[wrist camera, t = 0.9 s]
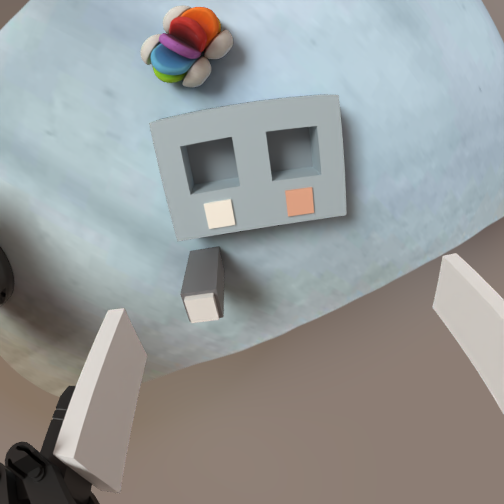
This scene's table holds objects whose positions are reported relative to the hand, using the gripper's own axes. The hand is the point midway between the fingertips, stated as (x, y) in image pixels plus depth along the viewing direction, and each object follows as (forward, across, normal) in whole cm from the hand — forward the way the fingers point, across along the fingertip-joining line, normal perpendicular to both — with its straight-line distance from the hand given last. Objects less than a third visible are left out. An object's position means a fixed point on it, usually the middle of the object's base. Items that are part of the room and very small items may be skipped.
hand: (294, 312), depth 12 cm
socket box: (+29, 0, 0) cm, 29 cm away
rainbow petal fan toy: (+29, -5, +15) cm, 33 cm away
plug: (+29, -8, -13) cm, 33 cm away
